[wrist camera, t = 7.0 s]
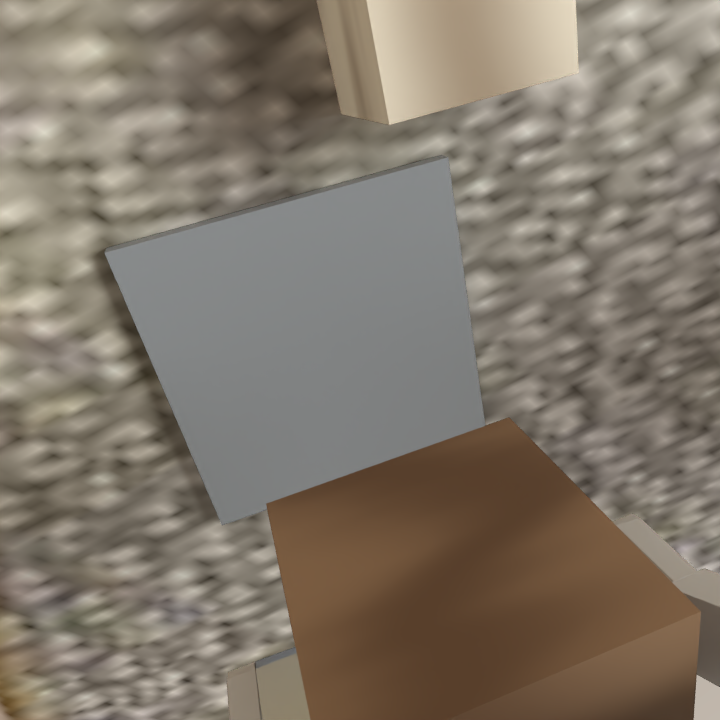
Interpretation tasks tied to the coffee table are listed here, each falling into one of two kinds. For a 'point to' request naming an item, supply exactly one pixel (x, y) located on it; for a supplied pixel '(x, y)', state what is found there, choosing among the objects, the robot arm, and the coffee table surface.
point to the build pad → (310, 332)
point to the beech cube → (442, 52)
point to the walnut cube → (477, 594)
